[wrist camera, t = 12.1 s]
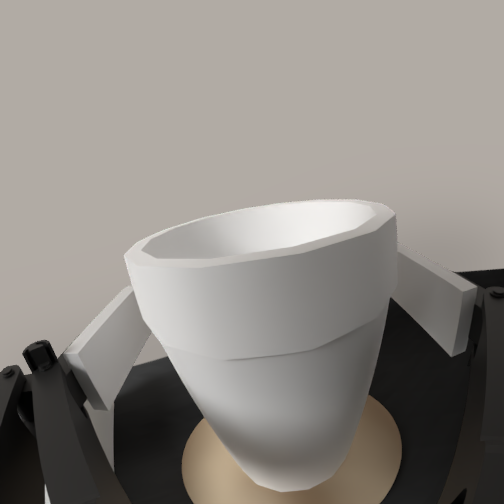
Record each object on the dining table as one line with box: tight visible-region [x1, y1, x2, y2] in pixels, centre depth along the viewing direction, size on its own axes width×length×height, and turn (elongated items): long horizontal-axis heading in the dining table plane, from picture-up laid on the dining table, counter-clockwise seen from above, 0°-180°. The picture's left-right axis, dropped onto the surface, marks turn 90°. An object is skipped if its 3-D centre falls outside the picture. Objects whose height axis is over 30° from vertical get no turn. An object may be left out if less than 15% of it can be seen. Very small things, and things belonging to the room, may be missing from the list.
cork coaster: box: [182, 395, 402, 504], centre depth 14 cm, size 13×13×1 cm
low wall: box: [45, 399, 114, 504], centre depth 10 cm, size 2×18×5 cm, turn 22°
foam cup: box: [124, 199, 398, 492], centre depth 12 cm, size 10×9×13 cm
